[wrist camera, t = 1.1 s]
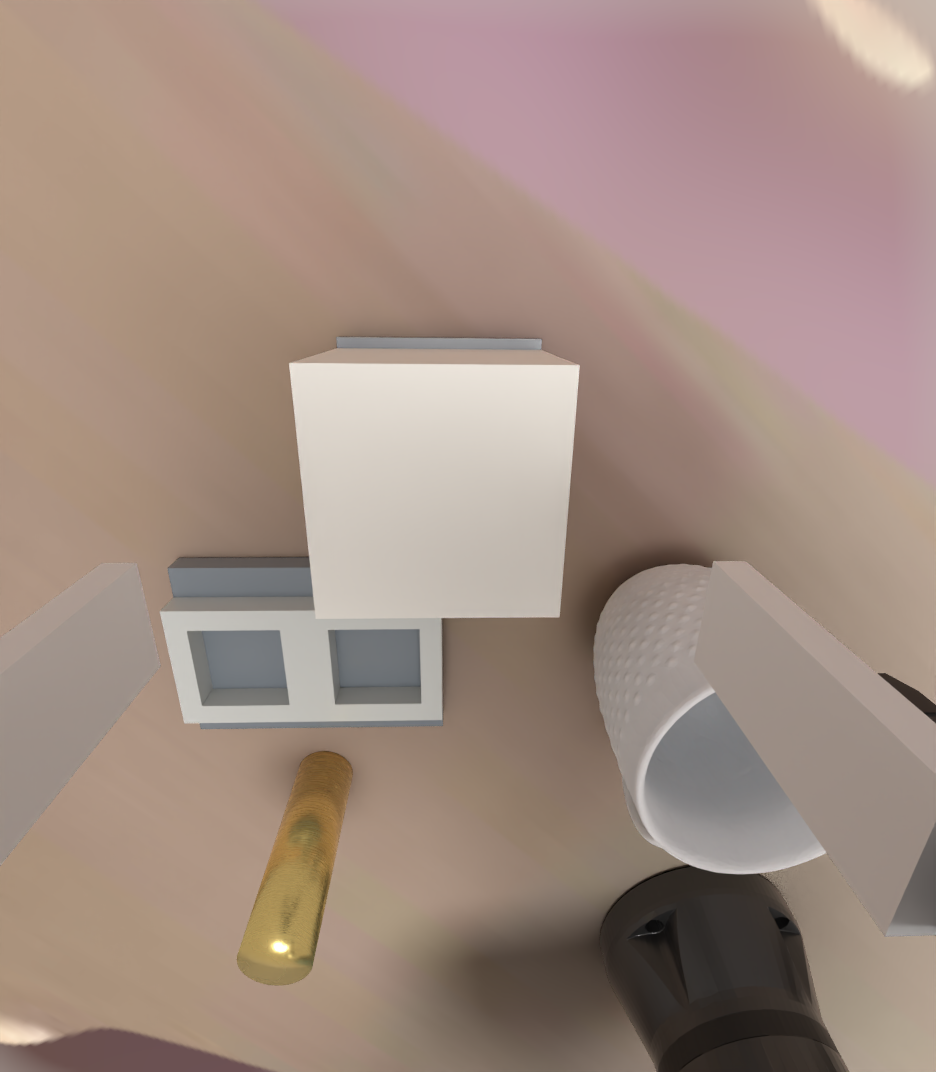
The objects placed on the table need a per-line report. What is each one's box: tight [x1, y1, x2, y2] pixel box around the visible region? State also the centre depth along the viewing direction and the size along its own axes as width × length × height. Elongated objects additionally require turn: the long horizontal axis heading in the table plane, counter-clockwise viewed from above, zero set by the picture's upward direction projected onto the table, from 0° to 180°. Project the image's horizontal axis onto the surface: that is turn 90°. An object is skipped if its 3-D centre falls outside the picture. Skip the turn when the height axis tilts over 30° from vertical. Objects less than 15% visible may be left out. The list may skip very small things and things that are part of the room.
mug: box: [593, 564, 826, 874], centre depth 29 cm, size 15×11×13 cm
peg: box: [237, 751, 353, 985], centre depth 33 cm, size 4×4×12 cm
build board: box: [160, 557, 443, 729], centre depth 33 cm, size 11×15×3 cm
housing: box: [289, 348, 580, 619], centre depth 25 cm, size 10×10×9 cm
